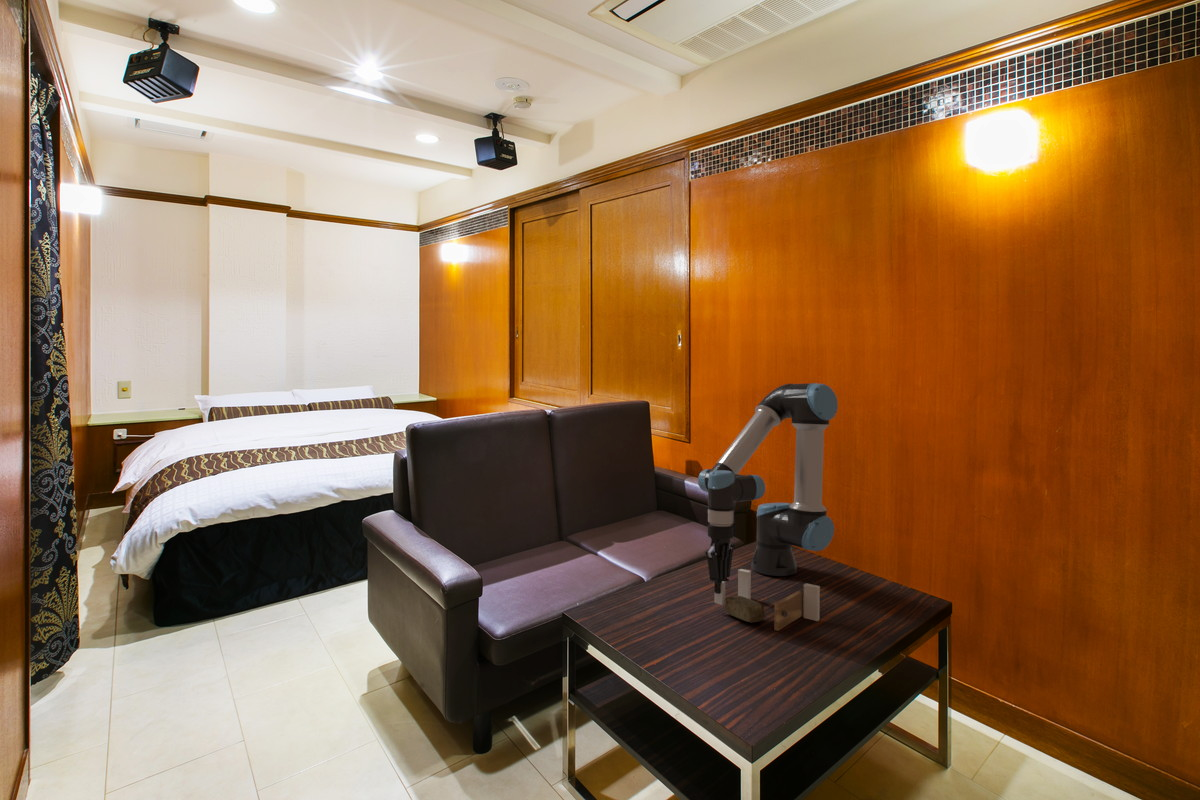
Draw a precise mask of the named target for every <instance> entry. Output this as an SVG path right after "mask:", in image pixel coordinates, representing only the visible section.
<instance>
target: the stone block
mask: <svg viewBox="0 0 1200 800" xmlns="http://www.w3.org/2000/svg"><path fill="white" fill-rule="evenodd" d="M724 606H725V608H724V610H725V612H726V614H728V615H730V616H731V617H735V618H736V619H739V620H741V621H745V622H747V623H758V622H761V621H764V620H765V607H764V605H763V604H762V603H761V602H758V601H757V600H753V599H748V598H745V597H742V596H738V595H735V596H730V597H725V605H724Z"/></svg>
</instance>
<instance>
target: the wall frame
mask: <svg viewBox="0 0 1200 800" xmlns="http://www.w3.org/2000/svg"><path fill="white" fill-rule="evenodd" d="M751 574H752V570H749V569H744V568H740V569H738V570H737V596H742V597H745V598H748V599H751V598H752V597H751V594H752V593H751V591H752V590H751V589H752V588H751V587H752V586H751V585H752V584H751V582H752V579H751ZM820 590H821V586H820V585H816V584H811V583H803V619H806V620H811V621H815V622H819V621H820V604H821V603H820V597H821V596H820V595H821V594H820V593H821V592H820ZM751 600H752V599H751Z"/></svg>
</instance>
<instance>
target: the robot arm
mask: <svg viewBox="0 0 1200 800" xmlns="http://www.w3.org/2000/svg"><path fill="white" fill-rule="evenodd" d="M838 407H839V404H838V398H837V395H836V393H835V391H834V390H833V388H831V387H830V386H829V385H827V384H823V383H818V382H817V383H816V382H814V383H813V382H812V383H787V384H786V383H785V384H782V385H780V386H778V387H776V388H774V389H773V390H772V391H770V392H769V393H768V394H767V395H766V396H765V397H763V399H762V400H760V402H759V403H758V404H757V406H756V407H755V409H754V412H755V413H754V414H753V416H751V418H750V419H749V421H747V423H746V425H744V427H743V428H742V430H741V431H740V432H739V434H738V435H736V437H735V439H734V440H733V441H732V443H730V445H729V446H728V447H727V449H726V450H725V452H724V453H723V454H722V456H721V457H720V458H719V459H718V460H717V461H716V463H715V465H713V467H712V468H708V469H707V468H706V469H703V470H702V471H700V473H699V475H698V478H697V483H698V487H699V489H700V490H702V492H705V493H707V508H708V509H707V522H708V524H707V537H709V538H710V545H709V546H710V548H709V549H706V550H705V556H706V558H707V559H706V560H707V564H708V565H707V566H708V574H709V580H710V582H711V581H712V582H714V588H713V589H714V595H713V596H714V598H713V600H714V604H717V605H721V606H723V605H724V606H725V605H726V582H728V583H729V581H730V579H729V578H730V577H731V569H732V561H733V554H734V550H735V546H736V545H735V543H731V539H733V538H734V537H735V535H734V534H735V533H734V532H735V531H734V530H735V529H734V527H735V526H734V523H735V503H737V502H739V503H740V502H746V501H754V500H759V499H761V498H762V497H763V496H764V495H765V493H766V483H765V480H764V479H763V478H762V476H760V475H758V474H747V475H745V474H743V475H742V474H739V473H740V472H741V471H742V469H743V467H745V465H746V464H747V462H748V461H749V460H750V459H751V458H752V456H753V455H754V453H755V452H756V451H757V450H758V448H759V447H760V445H761V444H762V443H763V441H764V440H765V439H766V438H767V436H768V435H769V434H770V432H771V431H772V429H773V428H774V427H777V426H779V425H780V424H782V422H783V421H784V420H785V419H791V425H792V426H793V427H794V428H795V430H796V431H795V454H794V456H795V458H794V461H795V462H794V488H793V489H794V494H793V497H794V498H793V502H792V503H790V502H770V503H769V502H768V503H761V504H759V505H758V507H757V511H756V548H755V550H754V553H753V557H752V558H751V559H752V560H751V570H752V571H754V572H756V573H759V574H761V575H767V576H774V577H775V576H776V577H785V576H793V575H795V574H797V571H798V568H797V566H798V565H797V562H796V558H795V555H794V552H793V549H792V548H793V547H792V546H794V547H797V548H801V549H804V550H807V551H813V552H820V551H823V550H824V549H826V548H827V547H828V546H829V545H830V543H831V542H832V540H833V537H834V534H835V525H834V522H833V520H832V519H831V518H830V517H829V516H827V511H828V510H827V508H826V506H824V505H823V478H824V477H823V471H824V443H825V442H824V439H825V438H824V437H825V436H824V435H825V430H826V429H827V428H829V426H830V420H832V419H834V417H836V414H837V412H838Z"/></svg>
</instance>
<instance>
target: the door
mask: <svg viewBox="0 0 1200 800" xmlns="http://www.w3.org/2000/svg"><path fill="white" fill-rule="evenodd" d="M773 610H774V618H773V619H774V622H773V623H774V625H773V626H774V631H780V630H783V629H784V628H785V627H787V626H789V625H790V624H791V623H793V622H795V621H797V620H798V619H800V618H801V617H804V589H798V590H797V591H796V592H794V593H792V594H791V595H788V596H787V597H785V598H783V599H781V600H780V601H778V602H776V603H774V609H773Z"/></svg>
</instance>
